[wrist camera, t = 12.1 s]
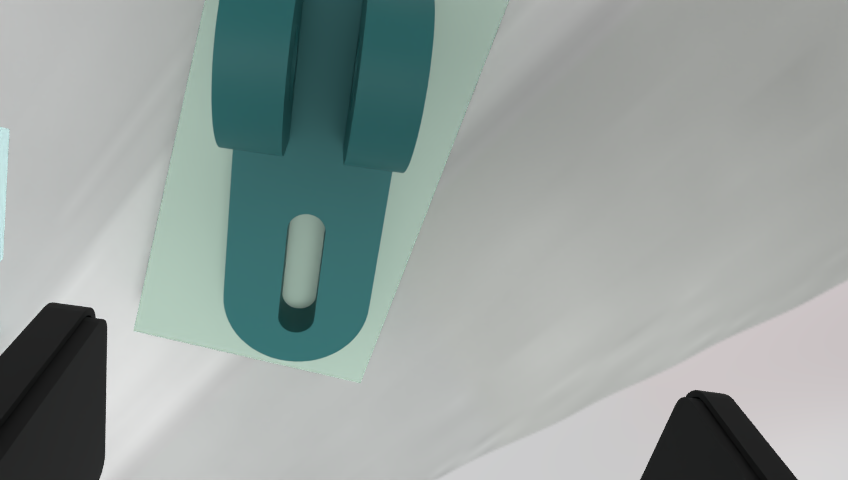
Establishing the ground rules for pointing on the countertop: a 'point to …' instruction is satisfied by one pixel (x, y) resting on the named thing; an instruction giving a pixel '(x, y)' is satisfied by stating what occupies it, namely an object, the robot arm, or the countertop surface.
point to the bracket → (313, 153)
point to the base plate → (209, 209)
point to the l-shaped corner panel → (3, 182)
